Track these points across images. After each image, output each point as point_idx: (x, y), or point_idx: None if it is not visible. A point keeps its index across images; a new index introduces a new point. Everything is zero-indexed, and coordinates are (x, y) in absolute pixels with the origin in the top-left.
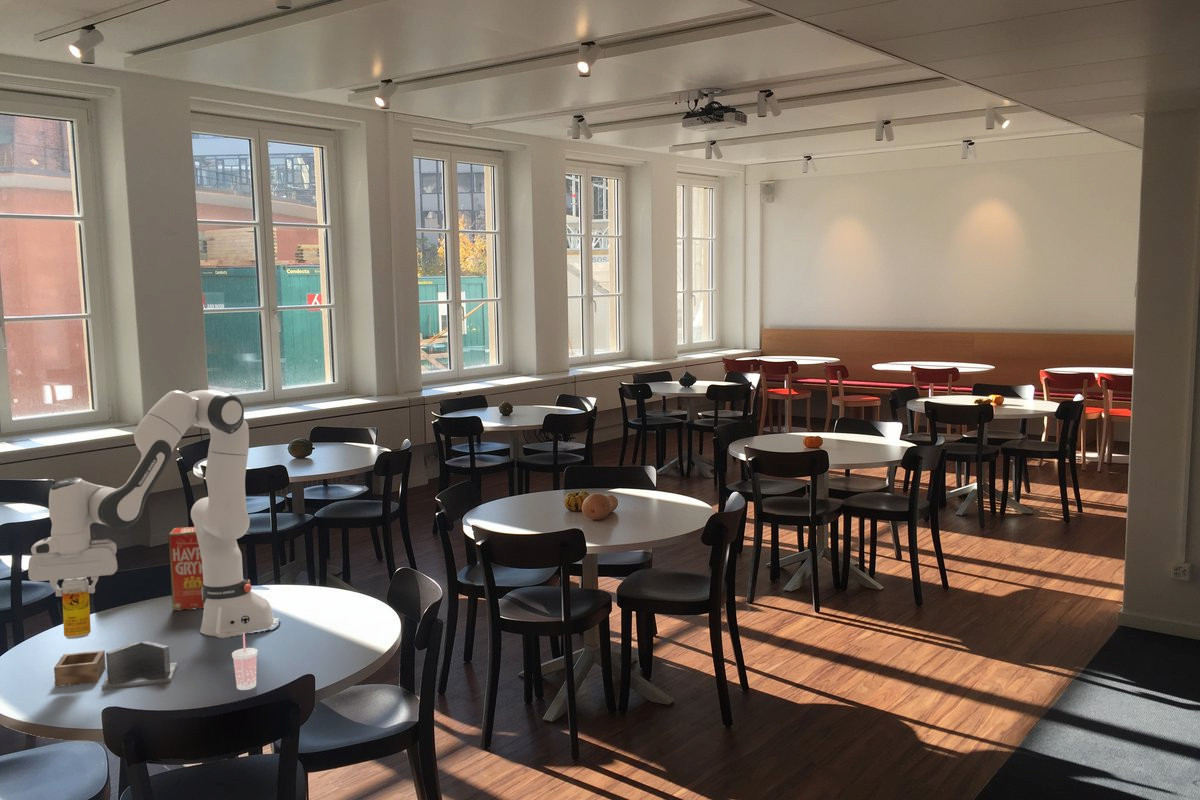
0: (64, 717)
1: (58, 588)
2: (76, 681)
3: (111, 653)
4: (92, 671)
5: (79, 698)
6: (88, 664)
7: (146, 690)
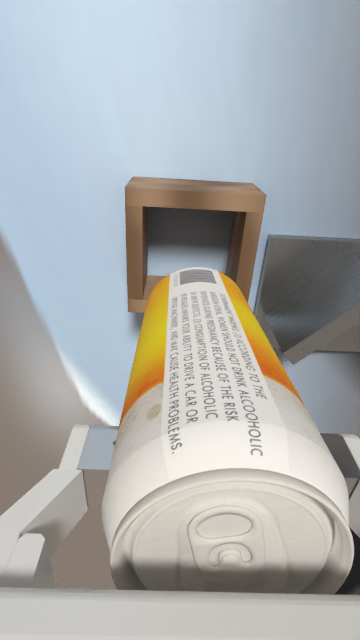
0: None
1: (81, 498)
2: None
3: (297, 360)
4: None
5: None
6: None
7: (339, 375)
